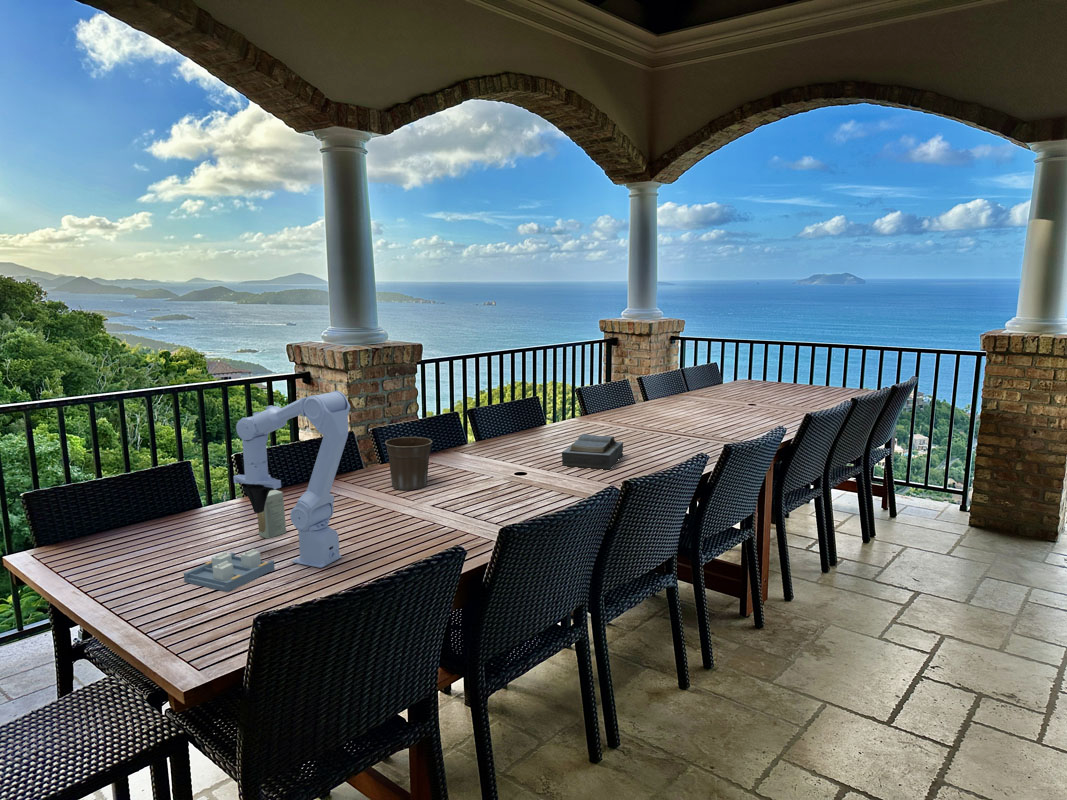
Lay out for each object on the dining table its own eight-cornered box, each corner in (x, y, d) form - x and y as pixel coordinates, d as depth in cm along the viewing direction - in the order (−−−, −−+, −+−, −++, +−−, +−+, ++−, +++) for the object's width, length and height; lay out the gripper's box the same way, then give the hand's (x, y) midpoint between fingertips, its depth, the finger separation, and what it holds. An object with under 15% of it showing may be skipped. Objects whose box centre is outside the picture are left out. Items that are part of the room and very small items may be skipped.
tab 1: (232, 568, 171) (231, 552, 171) (221, 573, 168) (220, 556, 168) (223, 566, 172) (222, 550, 172) (212, 571, 170) (211, 555, 169)
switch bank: (274, 569, 173) (273, 560, 173) (227, 592, 160) (227, 582, 160) (232, 560, 179) (231, 551, 178) (184, 581, 166) (183, 572, 165)
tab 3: (260, 565, 173) (259, 549, 172) (250, 570, 170) (249, 554, 169) (251, 563, 174) (250, 547, 174) (241, 568, 171) (240, 552, 171)
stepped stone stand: (633, 458, 286) (634, 435, 284) (605, 473, 263) (606, 448, 261) (582, 452, 298) (582, 429, 296) (551, 466, 275) (551, 441, 273)
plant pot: (438, 480, 253) (437, 436, 251) (427, 493, 237) (425, 446, 235) (394, 479, 255) (392, 436, 252) (380, 492, 239) (378, 446, 236)
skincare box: (278, 529, 202) (276, 488, 200) (286, 533, 199) (284, 491, 197) (257, 536, 197) (254, 493, 195) (265, 539, 194) (263, 496, 192)
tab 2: (234, 578, 165) (232, 561, 165) (223, 583, 163) (221, 566, 162) (224, 576, 167) (223, 559, 166) (213, 581, 164) (212, 564, 163)
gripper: (288, 461, 183) (291, 510, 185) (246, 455, 189) (250, 504, 191) (268, 467, 177) (271, 518, 179) (225, 461, 183) (229, 511, 185)
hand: (259, 511), depth 185 cm, fingers closed
